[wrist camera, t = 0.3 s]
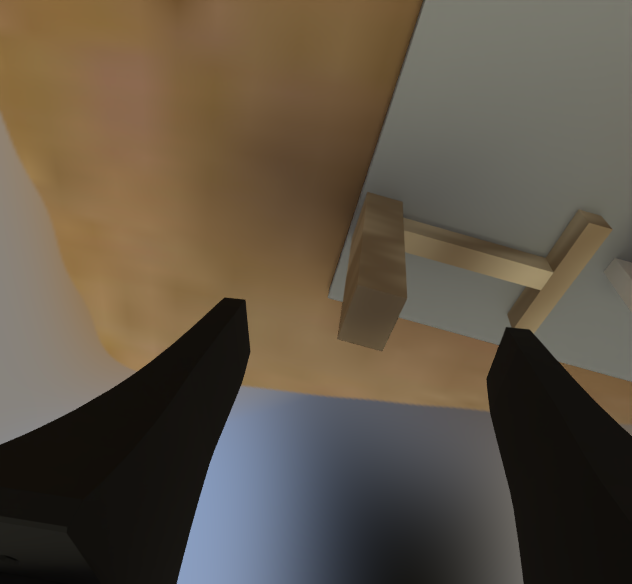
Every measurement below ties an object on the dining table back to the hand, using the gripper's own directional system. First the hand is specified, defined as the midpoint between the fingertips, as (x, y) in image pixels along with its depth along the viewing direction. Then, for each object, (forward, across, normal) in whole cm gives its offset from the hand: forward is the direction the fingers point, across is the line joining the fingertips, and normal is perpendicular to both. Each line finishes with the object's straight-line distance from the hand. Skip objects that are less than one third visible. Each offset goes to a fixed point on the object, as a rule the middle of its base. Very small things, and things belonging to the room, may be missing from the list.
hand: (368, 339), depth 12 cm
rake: (+9, -4, +2) cm, 10 cm away
